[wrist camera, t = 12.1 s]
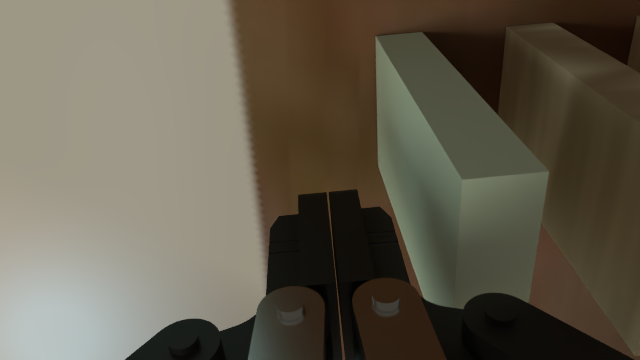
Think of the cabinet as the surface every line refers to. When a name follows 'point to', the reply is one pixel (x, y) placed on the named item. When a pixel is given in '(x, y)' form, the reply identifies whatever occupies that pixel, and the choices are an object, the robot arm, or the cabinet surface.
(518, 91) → the domino
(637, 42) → the domino
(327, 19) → the cabinet surface
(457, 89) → the domino
